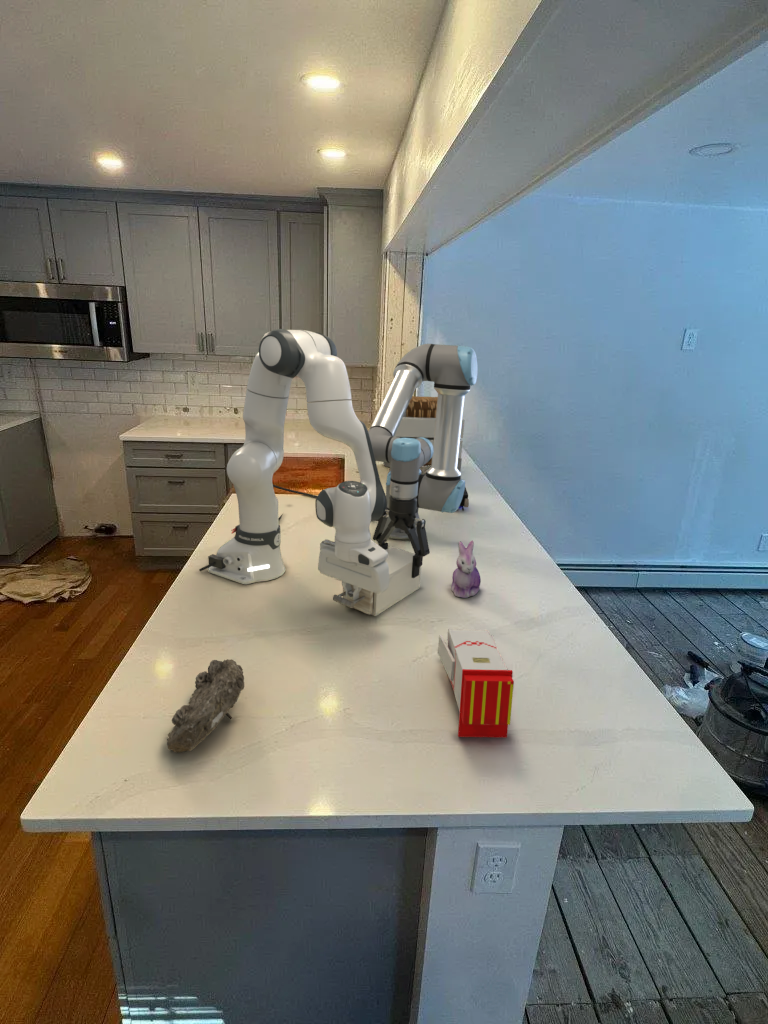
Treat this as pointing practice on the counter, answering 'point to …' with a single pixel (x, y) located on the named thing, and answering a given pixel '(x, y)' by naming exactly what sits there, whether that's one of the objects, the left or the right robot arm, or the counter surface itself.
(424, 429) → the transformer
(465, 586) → the figurine
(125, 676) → the counter surface
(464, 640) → the toy
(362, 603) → the drawer
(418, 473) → the right robot arm
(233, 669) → the fossil
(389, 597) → the cabinet
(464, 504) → the figurine character
